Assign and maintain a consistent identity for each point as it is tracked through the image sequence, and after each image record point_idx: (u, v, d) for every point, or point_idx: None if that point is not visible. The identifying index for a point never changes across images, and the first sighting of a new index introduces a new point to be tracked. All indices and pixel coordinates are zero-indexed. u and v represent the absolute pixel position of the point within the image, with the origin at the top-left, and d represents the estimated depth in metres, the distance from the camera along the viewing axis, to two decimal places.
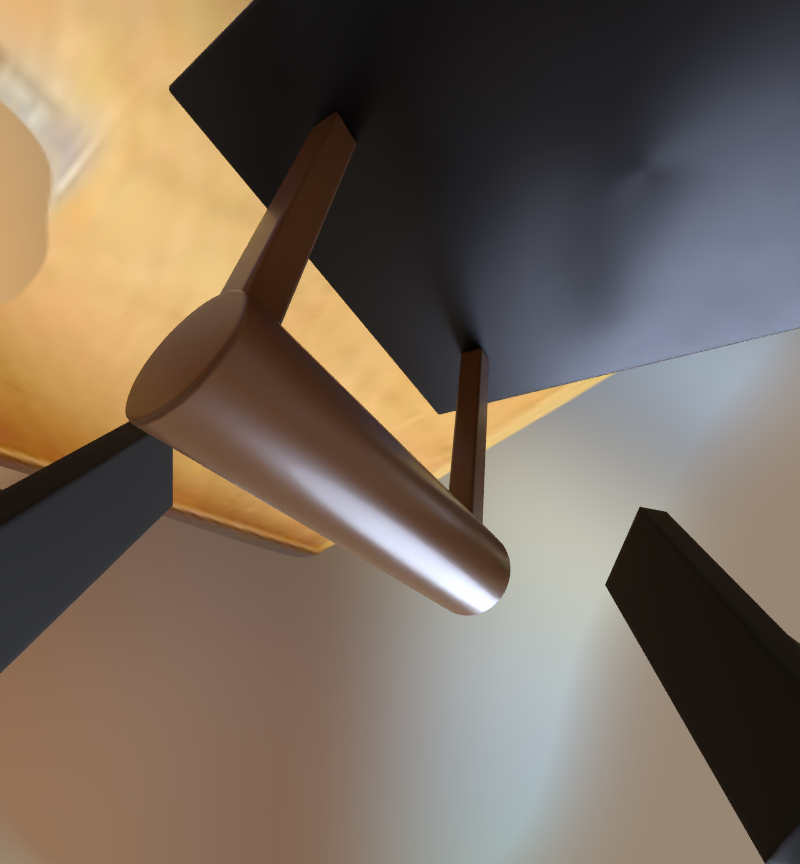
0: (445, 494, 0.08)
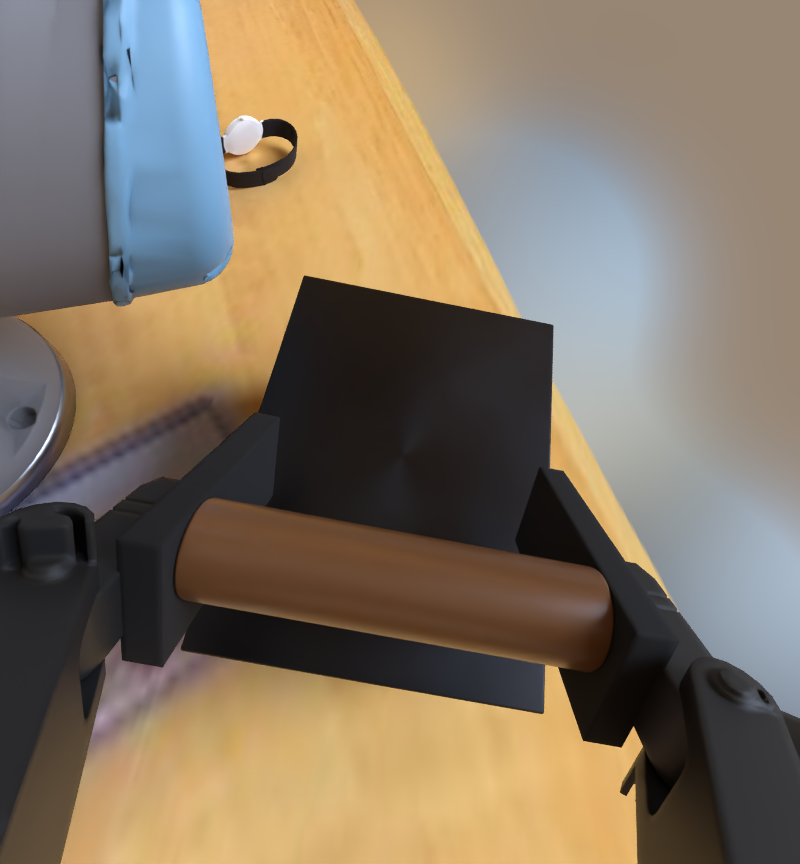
0: None
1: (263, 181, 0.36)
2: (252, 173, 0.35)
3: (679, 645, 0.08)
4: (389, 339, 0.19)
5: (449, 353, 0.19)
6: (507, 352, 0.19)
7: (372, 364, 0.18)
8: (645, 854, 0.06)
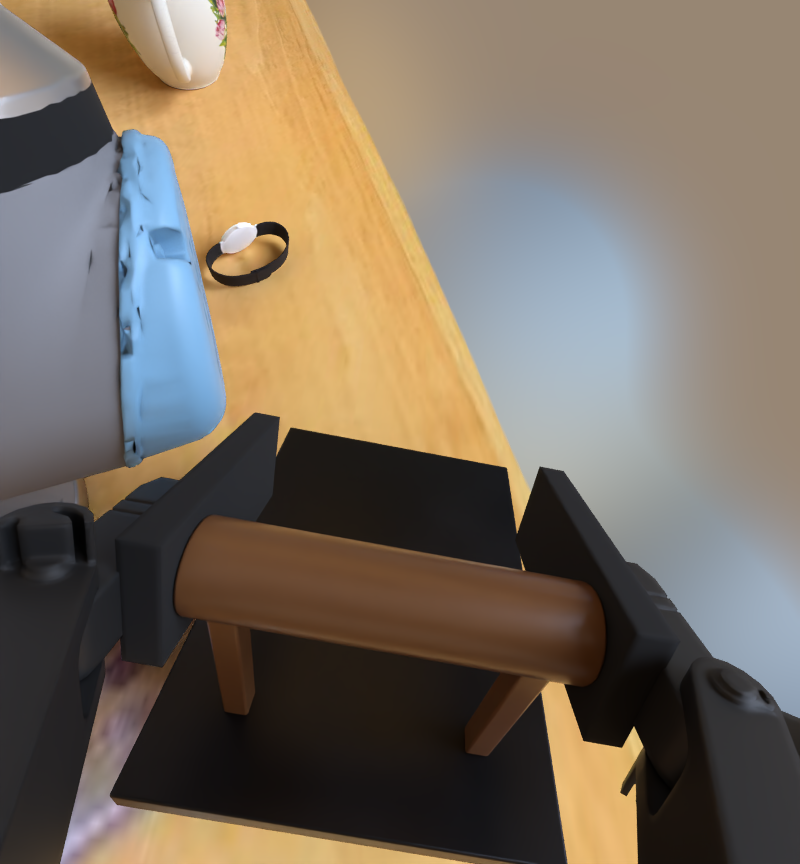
0: None
1: (257, 279, 0.39)
2: (247, 275, 0.38)
3: (679, 645, 0.08)
4: (365, 474, 0.21)
5: (419, 486, 0.21)
6: (471, 487, 0.22)
7: (350, 493, 0.20)
8: (645, 853, 0.06)
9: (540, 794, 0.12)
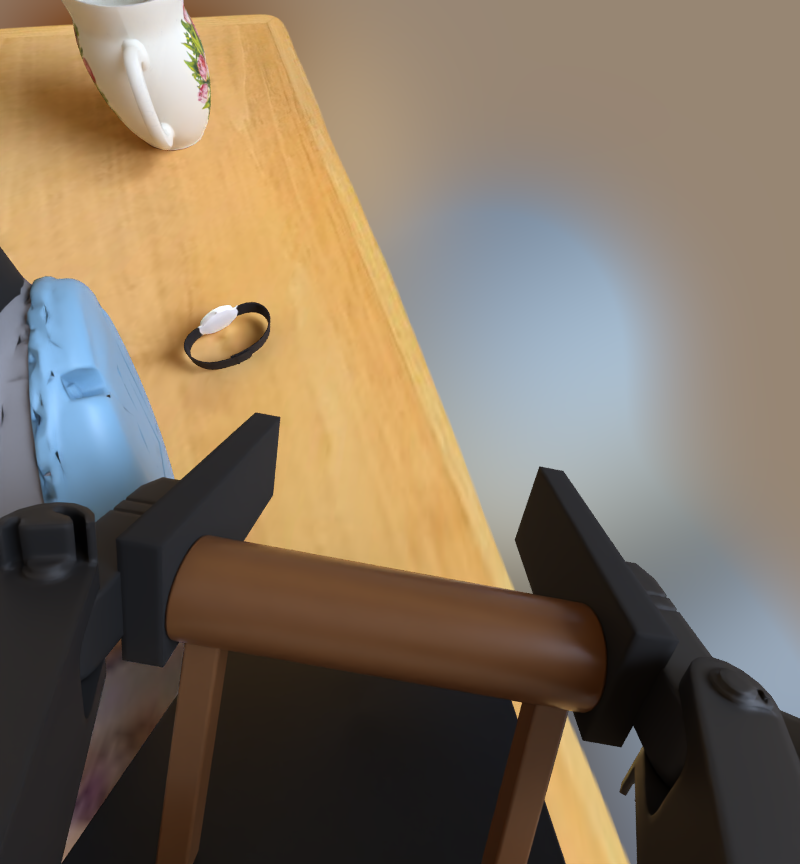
0: None
1: (237, 362, 0.38)
2: (226, 361, 0.37)
3: (679, 645, 0.08)
4: None
5: None
6: None
7: None
8: (644, 853, 0.06)
9: None
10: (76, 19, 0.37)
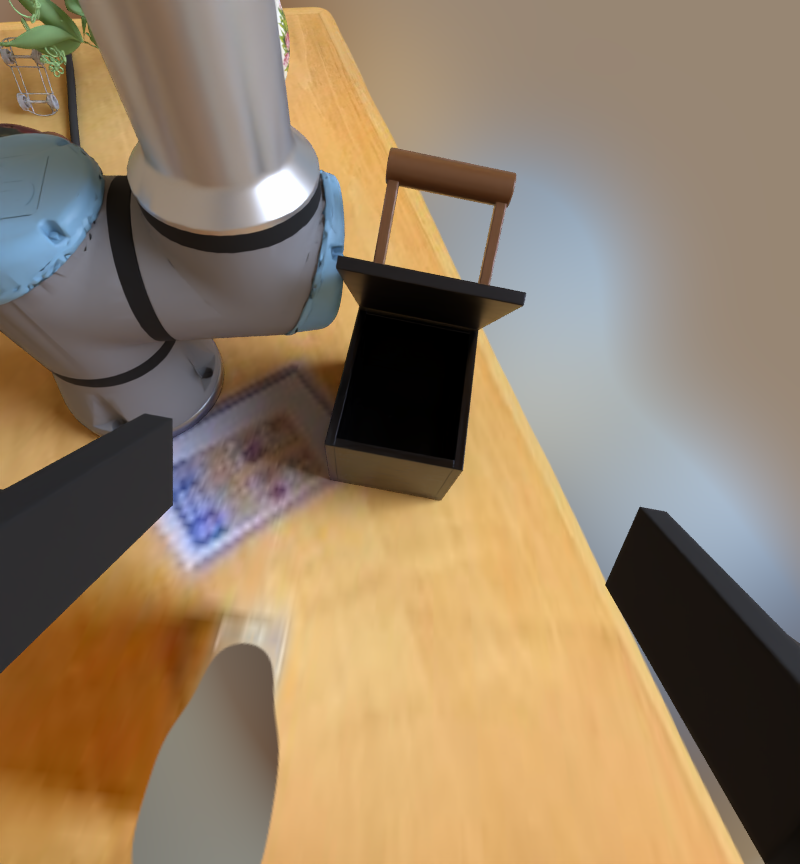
0: None
1: None
2: None
3: None
4: None
5: None
6: None
7: None
8: None
9: None
10: None
